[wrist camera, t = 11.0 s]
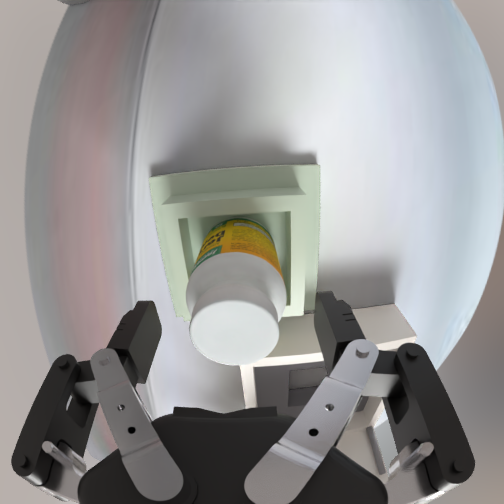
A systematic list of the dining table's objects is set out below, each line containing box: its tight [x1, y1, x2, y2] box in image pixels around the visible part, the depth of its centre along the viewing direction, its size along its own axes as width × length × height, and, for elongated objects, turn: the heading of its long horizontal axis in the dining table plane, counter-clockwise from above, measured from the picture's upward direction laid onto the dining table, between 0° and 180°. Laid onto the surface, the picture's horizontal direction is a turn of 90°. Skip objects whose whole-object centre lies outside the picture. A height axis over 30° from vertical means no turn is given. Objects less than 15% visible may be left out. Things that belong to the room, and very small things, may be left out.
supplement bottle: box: [186, 217, 287, 365], centre depth 16 cm, size 5×5×10 cm
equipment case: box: [240, 304, 417, 484], centre depth 19 cm, size 17×15×19 cm
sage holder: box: [149, 164, 320, 321], centre depth 20 cm, size 12×12×3 cm
